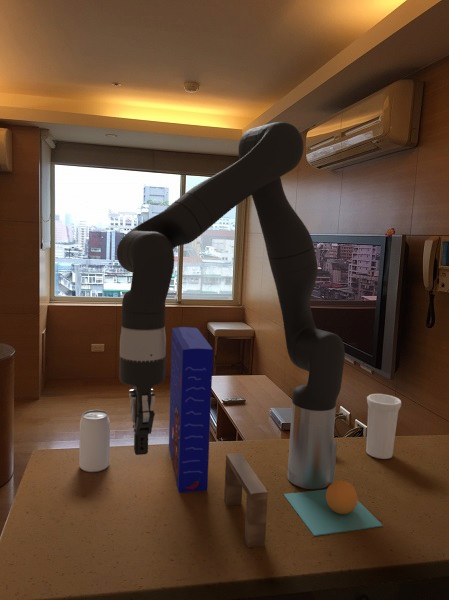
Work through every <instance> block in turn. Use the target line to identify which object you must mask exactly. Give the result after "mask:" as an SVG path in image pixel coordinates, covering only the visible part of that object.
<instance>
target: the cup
mask: <svg viewBox="0 0 449 600" xmlns="http://www.w3.org/2000/svg"><path fill="white" fill-rule="evenodd" d="M366 402H367V405H368V406H367V429H366V448H365V449H366V450H365V451H366V454H368V456H370V457H374V458H376V459H381V460H382V459H383V460H386V459H391V458H392V457H393V455H394V454H393V453H394V447H395V446H394V445H395V439H396V430H397V423H398V416H399V410H400V409H401V407H402V401H401V399H400V398H398V397H396V396H395V395H394V396H393V395H390V394H386V393H385V394H384V393H372V394H369V395H368V396H366Z"/></svg>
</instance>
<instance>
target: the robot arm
mask: <svg viewBox="0 0 449 600" xmlns="http://www.w3.org/2000/svg"><path fill="white" fill-rule="evenodd" d="M303 140H304V139H303V136H302V134H301V133H300V131H299V130H298V128H297V127H296V126H295V125H294V124H291V123H289V122H285V121H275V122H271V123H267V124H262V125H261V126H256V127H253V128H250V129H248V130H246V131H245V132H244V133H243V134H242V136H241V138H240V140H239V142H238V158H239V160H237V161H236V162H234V163H233V164H231V165H229V166H228V167H226V168H225V169H223V170H221V171H219V172H218V173H215V174H213V175H212V176H210V177H208V178H207V179H204V180H203V181H202V182H200V183H198V184H196V185H195V186H193V187H192V188H190V189H189V190H188V191H186V192H185V193H183V195H181V196H180V197H178V198H177V199H176V200H175V201H174V202H173V203H171V204H170V205H169V206H168V207H167V208H165V209H164V210H162V211H161V212H160V213H158V214H156V215H153V216H152V217H150V218H148V219H147V220H145V221H143V222H142V223H140V224H138V225H136V227H134V228H132V229H131V230H129V231H128V232H127V233H126V234H124V236H123V237H122V238H121V239H120V241H119V242H118V245H117V248H116V259H117V261H118V263H119V265H120V266H121V267H122V268H123V269H124V270H125V271H128V272H129V273H132V276H131V284H130V290H127V291H126V292H125V293H124V295H123V296H122V297H123V298H122V303H121V304H122V305H121V329H120V338H119V369H118V371H119V373H118V374H119V375H118V378H119V382H121V383H122V384H124V385H125V386H130V387H132V386H133V388H131V389H129V390H128V392H129V395H128V396H129V397H128V398H129V401H130V416H131V421H132V423H133V424H132V428H133V451H134V453H135V456H140V455H147V454H148V453H149V435H150V434H152V429H153V424H154V419H155V416H156V415H155V411H154V406H155V404H156V394H155V393H154V389H153V387H154V386H156V385H160V384H162V383H163V382H164V381H165V379H166V361H167V360H166V358H167V357H166V355H167V354H166V353H167V335H166V301H167V297H168V293H169V290H170V286H171V281H172V278H173V274H174V269H175V268H174V267H175V253H174V249H175V248H177V247H180V246H183V245H188V244H190V243H192V242H193V241H195V240H197V239H198V238H199V237H200V236H201V235H203V234H204V233H205V232H207V231H208V229H210V228H211V227H212V226H213V225H215V224H216V223H217V222H218V221H219V220H220V219H221V218H223V217H224V216H226V214H228V213H229V212H230V211H231V210H232V209H234V208H235V207H237V206H238V205H239V204H240V203H242V202H243V201H245V200H246V199H247V198H249V197H250V196H251V198H252V201H253V204H254V207H255V210H256V213H257V217H258V222H259V225H260V229H261V232H262V233H261V234H262V238H263V240H264V244H265V248H266V249H265V250H266V254H267V257H268V261H269V263H268V264H269V265H270V271H271V273H272V277H273V280H274V284H275V289H276V292H277V297H278V302H279V306H280V311H281V315H282V322H283V329H284V336H285V344H286V351H287V353H288V356H289V359H290V361H291V362H292V364H293V365H295V366H296V367H297V368H299V369H301V370H304V371H306V372H308V376H307V377H308V378H307V384H301V385H298V386H296V387H295V388H294V389H293V391H292V398H291V399H292V401H291V415H290V418H291V419H290V432H289V445H288V446H289V447H288V450H289V451H288V460H287V479H288V481H289V482H290V483H291V484H293V485H294V486H297V487H299V488H301V489H306V490H323V489H325V488H326V487H327V488H328V487H329V486H330V485H331V484H332V483H333V482H335V474H336V473H335V472H336V471H335V470H336V458H337V446H338V442H337V440H336V439H335V438H334V436H335V435H334V433H335V422H336V421H335V420H336V419H335V418H336V407H337V400H338V397H339V394H340V393H341V392H340V391H341V389H342V382H343V381H342V380H343V373H344V368H345V367H344V366H345V359H346V358H345V357H346V351H345V345H344V341H343V339H342V338H341V337H340V336H339V335H338V334H336V333H333V332H331V331H326V330H322V329H319V328H317V326H316V324H315V321H314V317H313V314H312V309H311V299H312V298H311V297H312V294H313V291H314V289H315V285H316V282H317V278H318V272H319V270H318V269H319V268H318V265H319V264H318V261H317V255H316V252H315V251H316V250H315V246H314V242H313V238H312V236H311V233H310V231H309V230H308V228H307V226H306V225H305V223H304V222H303V221H302V219H301V217H300V216H298V214H297V212H296V211H295V209H294V208H293V207H292V205H291V204H290V202H289V200H288V199H287V196H286V193H285V190H284V187H283V182H282V179H281V178H282V177H283V176H284V175H287V174H288V173H290V172H292V171H293V170H294V169H295V168H296V167H297V166H298V165H299V164H300V162H301V160H302V157H303V154H304V148H305V147H304V141H303Z"/></svg>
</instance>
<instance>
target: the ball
mask: <svg viewBox="0 0 449 600" xmlns="http://www.w3.org/2000/svg"><path fill="white" fill-rule="evenodd" d="M326 489H327V491H326V501H327V504H328V506H329V507H330V508H331V509H332V510H333V511H334V512H336V513H339V514H348V513H350V512H352V511H353V510H354V509H355V507H356V505H357V501H359V499H358V492H357V491H356V488H355V487H354V486H353V485H352V484H351V483H350V482H348V481H345V480H336V481H334V482H333V483H332V484H329V485H328V486H327V488H326Z"/></svg>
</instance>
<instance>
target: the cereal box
mask: <svg viewBox="0 0 449 600" xmlns="http://www.w3.org/2000/svg"><path fill="white" fill-rule="evenodd" d="M171 330H172V331H171V357H170V362H171V364H170V391H169V392H170V393H169V394H170V395H169V425H168V426H169V427H168V450H169V454H170V458H171V462H172V463H171V464H172V469H173V472H174V478H175V482H176V487H177V492H178V493H190V492H205V491H208V484H209V462H210V461H209V460H210V459H209V457H210V455H209V454H210V437H211V436H210V435H211V434H210V433H211V432H210V431H211V411H212V410H211V407H212V386H213V385H212V383H213V382H212V381H213V380H212V379H213V361H214V360H213V359H214V358H213V357H214V349H213V347H212V346H211V345H210V343H209V342H208V340H207V339H206V338H205V336H203V334H202V332H201V331H200V329H198V328H197V327H187V326H181V327H180V326H179V327H172V328H171Z"/></svg>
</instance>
